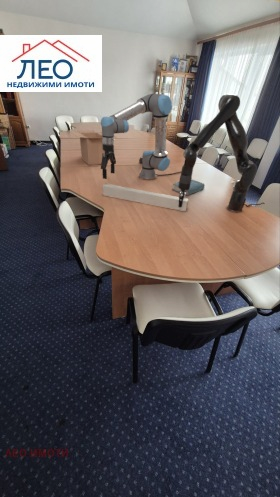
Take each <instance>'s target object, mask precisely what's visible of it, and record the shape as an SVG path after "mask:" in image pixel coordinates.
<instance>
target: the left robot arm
mask: <svg viewBox="0 0 280 497" xmlns="http://www.w3.org/2000/svg"><path fill="white" fill-rule="evenodd" d="M172 110H173V100H172V98H171V96H169V95H167V94H161V93H149V94H146V95H144V96H142V97H140V98H138V99H137V100H136V102H134V103H132V104H131V105H129V106H127V107H125V108H123V109H121V110H119V111H117V112H115V113H113V114H112V115H109V116H102V117H101V119H100V126H101V132H102V143H103V150H104V151H105V154H104V153H103V154H102V162H101V164H100V170H102V179H104V180H107V179H108V176H107V175H108V174H107V170H108V169H107V166H108V163H109V161H110V174H115V173H116V172H115V171H116V170H115V168H116V166H115V165H116V164H117V159H116V154H115V145H114V144H115V134H126V133H128V132H129V131H130V123H129V122H128V121H129V120H131V119H133V118H135V117H136V116H139V115H140V114H142V115H143V114H145V113H152V117H153V119H154V150H144V151H143V152H142V156H141V158H142V163H141V169H140V172H139V174H138V175H139V178H140V179H142V180H146V181H154V180H156V178H157V177H159V176H160V177H163V176H164V177H165V176H172V175H175V174H181V171H177V172H173V173H168V174H167V173H166V174H158V173H156V170H157V171H159V172H160V171H161V172H165V171H166V170H167V169H168V168H169V166H170V165H171V164H170V163H171V159H170V157H168V152H167V151H166V146H167V119H168V117H169V115H170V114H171V112H172Z"/></svg>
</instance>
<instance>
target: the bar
mask: <svg viewBox="0 0 280 497" xmlns="http://www.w3.org/2000/svg"><path fill="white" fill-rule="evenodd" d="M102 196H103V197H104V196H105V197H109V198H110V197H111V198H115V199H120V200H125V201H130V202H135V203H140V204H146V205H151V206H156V207H161V208H164V209H165V208H166V209H171V210H176V211H181V212H186V211H187V207H188V202H189V198H186V197H185V198H184V199H183V203H182V207H179V196H175V195H169V194H164V193H158V192H154V191H148V190H142V189H137V188H131V187H128V186H127V187H126V186H120V185H115V184H111V183H104V184H103V185H102ZM180 200H181V199H180Z"/></svg>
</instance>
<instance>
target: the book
mask: <svg viewBox="0 0 280 497" xmlns="http://www.w3.org/2000/svg"><path fill="white" fill-rule="evenodd" d="M172 185H173V187H172V189H171V190H172V191H175V192H177V193H179V194H180V191H181V189H179V188H178V186H179V181H178V182H175V183H172ZM204 189H205V183H204V182H200V181H198V180H195V179H191V184H190V189H189V190H186V191H187V192H186V195H185V196H190V195H193V194H195V193H197V192H200V191H202V190H204Z"/></svg>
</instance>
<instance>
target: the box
mask: <svg viewBox="0 0 280 497" xmlns="http://www.w3.org/2000/svg"><path fill="white" fill-rule="evenodd" d="M70 133H71V134H72V135H74V136H75V137H77V138H79V144H80V153H81V160H83V162H85V163H86V165H87V166H95V165H97V166H98V165H101V162H102V154H103V153H104V154H105V151H104V150H103V143H102V131H98V132H96V131H95V130H92V129H91V130H77V132H76V131H70Z"/></svg>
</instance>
